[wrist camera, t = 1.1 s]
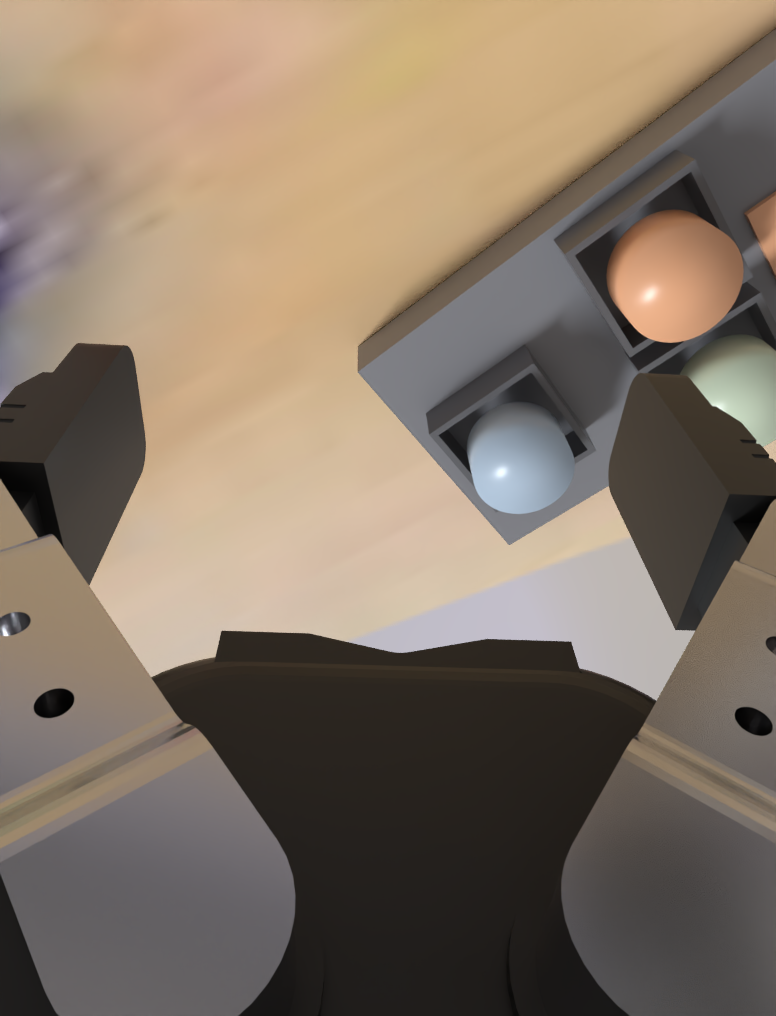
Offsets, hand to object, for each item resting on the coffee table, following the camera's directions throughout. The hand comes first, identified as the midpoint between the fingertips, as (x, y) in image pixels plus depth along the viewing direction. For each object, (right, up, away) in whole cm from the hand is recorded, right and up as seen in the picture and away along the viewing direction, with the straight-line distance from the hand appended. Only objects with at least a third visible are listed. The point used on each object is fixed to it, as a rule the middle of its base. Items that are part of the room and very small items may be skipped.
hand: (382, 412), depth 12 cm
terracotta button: (+11, +8, +18) cm, 22 cm away
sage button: (+15, +4, +20) cm, 26 cm away
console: (+11, +8, +24) cm, 28 cm away
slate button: (+6, +1, +22) cm, 23 cm away
